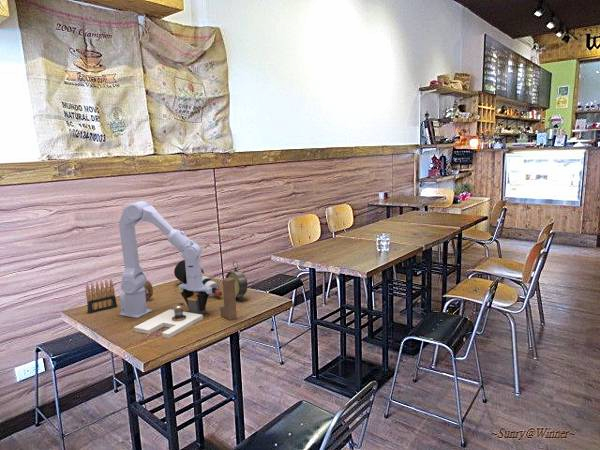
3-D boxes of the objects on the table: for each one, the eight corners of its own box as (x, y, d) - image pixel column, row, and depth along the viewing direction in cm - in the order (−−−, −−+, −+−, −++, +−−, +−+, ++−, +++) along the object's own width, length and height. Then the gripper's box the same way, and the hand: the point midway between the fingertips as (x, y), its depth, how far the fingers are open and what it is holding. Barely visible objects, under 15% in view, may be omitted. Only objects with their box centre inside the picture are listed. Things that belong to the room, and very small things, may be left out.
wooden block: (237, 317, 160) (234, 278, 158) (229, 320, 158) (226, 280, 156) (228, 313, 165) (225, 275, 163) (220, 315, 163) (217, 277, 160)
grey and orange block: (188, 314, 166) (187, 298, 164) (197, 309, 170) (195, 293, 169) (197, 315, 164) (195, 299, 163) (205, 311, 168) (204, 295, 167)
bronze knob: (169, 320, 157) (167, 307, 156) (178, 315, 161) (177, 302, 160) (179, 322, 155) (178, 308, 154) (189, 316, 159) (187, 304, 158)
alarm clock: (225, 297, 183) (222, 260, 180) (236, 294, 187) (233, 257, 184) (240, 303, 175) (237, 264, 172) (250, 299, 179) (248, 261, 176)
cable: (215, 310, 181) (205, 293, 176) (180, 284, 206) (170, 268, 201) (234, 295, 185) (224, 277, 180) (197, 271, 211) (188, 255, 205)
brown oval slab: (125, 296, 189) (123, 278, 188) (131, 294, 192) (129, 276, 190) (149, 301, 181) (147, 282, 180) (155, 299, 184) (153, 280, 183)
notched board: (134, 331, 152) (133, 327, 152) (170, 312, 168) (169, 309, 168) (168, 338, 145) (168, 334, 145) (203, 318, 161) (202, 314, 161)
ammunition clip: (115, 305, 178) (112, 277, 176) (117, 307, 177) (113, 278, 175) (87, 312, 172) (83, 283, 170) (88, 314, 170) (85, 284, 168)
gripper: (215, 274, 165) (218, 308, 167) (186, 270, 171) (189, 303, 173) (204, 279, 158) (207, 314, 161) (173, 275, 165) (176, 309, 167)
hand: (196, 309), depth 167 cm, fingers open, 5 cm apart
